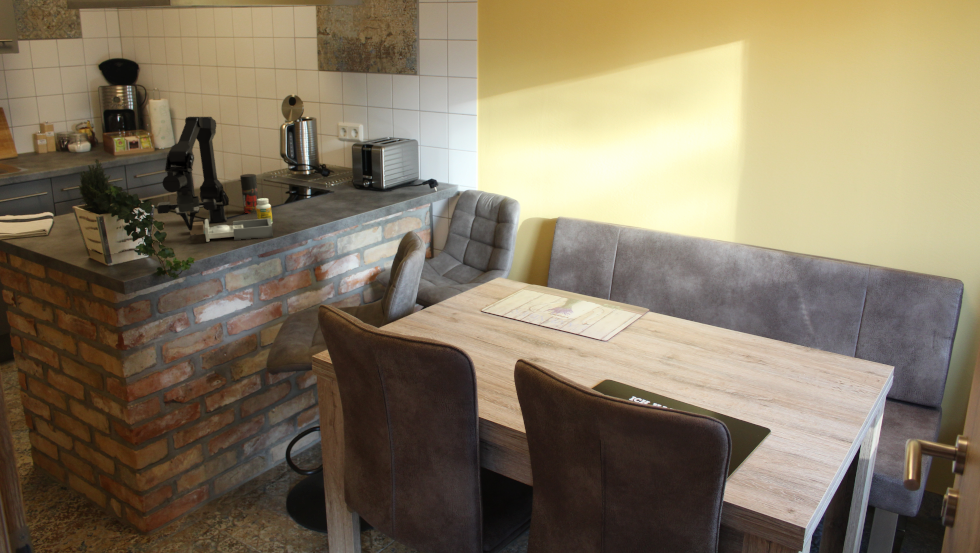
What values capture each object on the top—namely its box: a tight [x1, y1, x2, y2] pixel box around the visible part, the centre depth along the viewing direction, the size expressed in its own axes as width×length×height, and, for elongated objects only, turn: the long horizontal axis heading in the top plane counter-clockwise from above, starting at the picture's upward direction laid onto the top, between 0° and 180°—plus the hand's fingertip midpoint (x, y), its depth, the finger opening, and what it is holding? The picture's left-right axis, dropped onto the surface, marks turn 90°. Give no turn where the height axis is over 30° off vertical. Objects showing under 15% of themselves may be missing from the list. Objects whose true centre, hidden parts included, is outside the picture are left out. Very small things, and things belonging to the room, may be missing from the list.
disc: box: [211, 224, 230, 233], centre depth 257 cm, size 6×6×2 cm
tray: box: [203, 218, 243, 242], centre depth 258 cm, size 12×13×5 cm
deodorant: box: [240, 173, 259, 215], centre depth 291 cm, size 6×6×15 cm
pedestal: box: [189, 221, 205, 236], centre depth 263 cm, size 4×4×4 cm
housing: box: [232, 218, 274, 241], centre depth 261 cm, size 12×13×4 cm
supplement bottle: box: [256, 197, 274, 225], centre depth 274 cm, size 5×5×10 cm
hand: (190, 230), depth 254 cm, fingers closed
